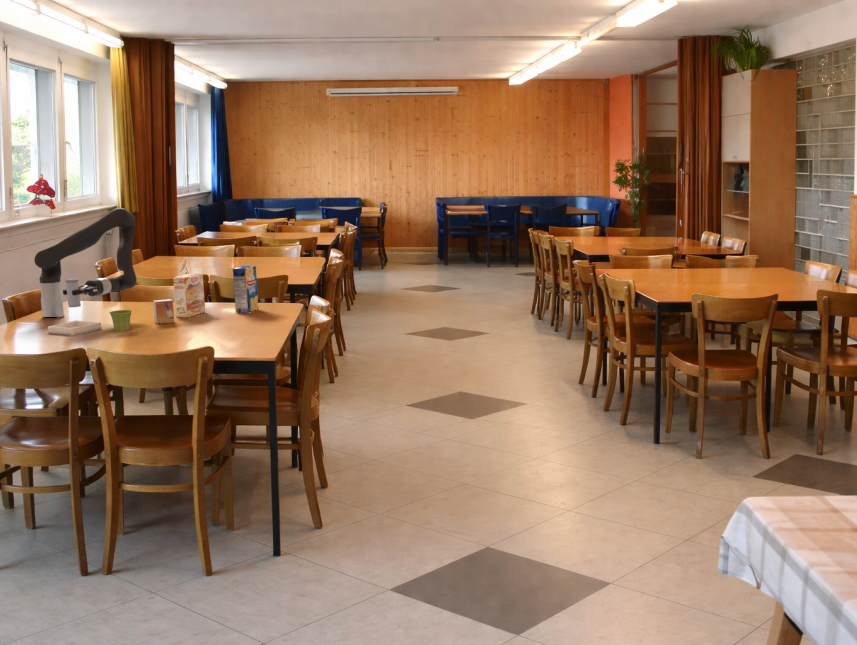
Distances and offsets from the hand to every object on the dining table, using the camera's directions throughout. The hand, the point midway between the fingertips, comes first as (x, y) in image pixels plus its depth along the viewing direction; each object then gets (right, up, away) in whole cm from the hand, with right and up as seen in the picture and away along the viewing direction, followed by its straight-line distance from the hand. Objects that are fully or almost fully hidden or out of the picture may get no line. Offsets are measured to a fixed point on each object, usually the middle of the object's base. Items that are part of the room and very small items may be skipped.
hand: (68, 292), depth 355 cm
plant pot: (+22, -17, +6) cm, 28 cm away
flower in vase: (+33, -4, +69) cm, 76 cm away
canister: (+1, -6, +4) cm, 7 cm away
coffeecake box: (+42, -9, +42) cm, 60 cm away
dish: (+1, -17, +4) cm, 17 cm away
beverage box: (+68, -8, +48) cm, 84 cm away
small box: (+35, -13, +23) cm, 44 cm away
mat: (+1, -17, +5) cm, 18 cm away
